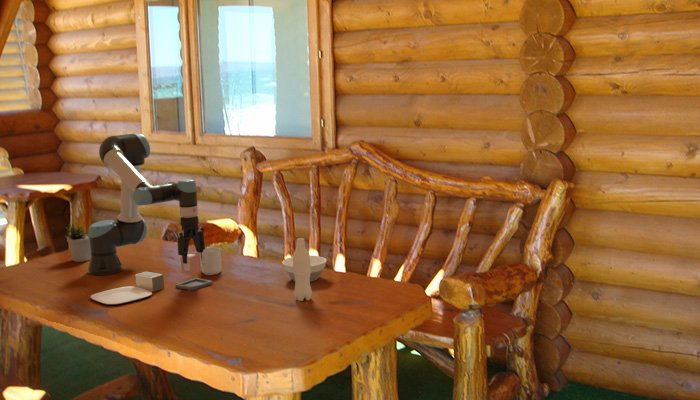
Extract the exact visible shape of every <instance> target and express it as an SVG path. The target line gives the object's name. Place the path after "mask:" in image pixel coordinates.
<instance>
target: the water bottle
mask: <svg viewBox="0 0 700 400" xmlns="http://www.w3.org/2000/svg"><path fill="white" fill-rule="evenodd" d="M305 245H306V241H305V238H303V237H298V238H296V249H295V251H294V253H293V256H292V257H293V273H294V276H295V281H294V282H295V283H294V284H295V286H294V291H293V295H294V298H295V300H296V301H298V302H303V301H304V299H305V301H306V302H307V301H310V300H311V298H312V294H313V291H312V287H311V282H310V273H311V268H310V256H311V255H310V253H309V252H308V250H307V249H306V246H305Z"/></svg>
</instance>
